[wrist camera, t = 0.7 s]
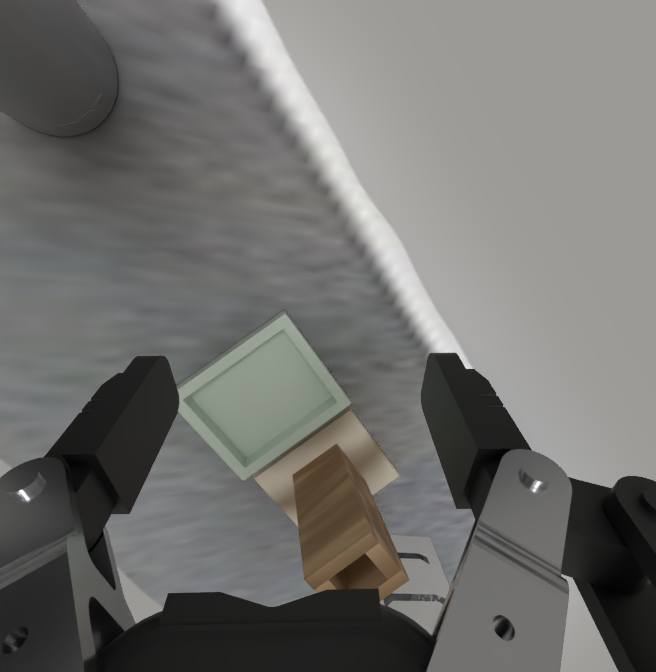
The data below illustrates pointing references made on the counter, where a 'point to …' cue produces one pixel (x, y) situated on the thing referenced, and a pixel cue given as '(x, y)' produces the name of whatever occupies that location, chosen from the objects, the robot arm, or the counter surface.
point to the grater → (420, 581)
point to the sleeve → (343, 529)
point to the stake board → (335, 430)
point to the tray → (261, 396)
